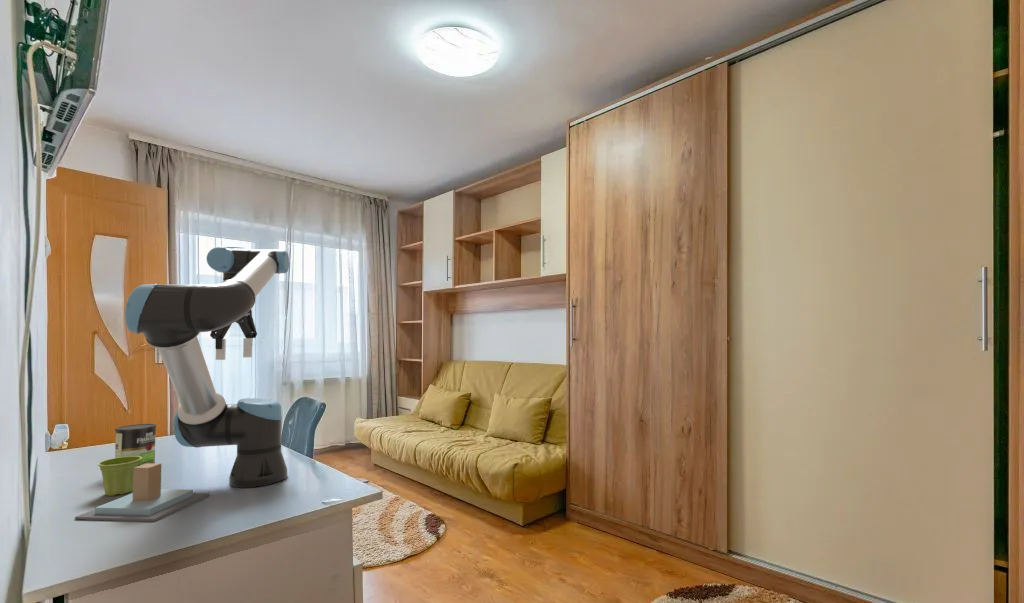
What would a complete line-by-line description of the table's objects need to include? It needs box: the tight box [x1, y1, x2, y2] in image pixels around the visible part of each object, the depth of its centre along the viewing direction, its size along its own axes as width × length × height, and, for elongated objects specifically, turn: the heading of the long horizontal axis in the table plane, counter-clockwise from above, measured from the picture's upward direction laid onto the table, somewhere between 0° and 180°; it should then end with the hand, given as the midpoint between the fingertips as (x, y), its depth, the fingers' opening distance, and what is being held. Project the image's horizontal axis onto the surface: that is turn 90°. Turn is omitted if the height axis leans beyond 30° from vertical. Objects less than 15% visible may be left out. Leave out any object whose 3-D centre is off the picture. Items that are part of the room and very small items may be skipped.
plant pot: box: [97, 456, 142, 497], centre depth 136 cm, size 9×9×9 cm
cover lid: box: [94, 463, 194, 515], centre depth 124 cm, size 14×14×10 cm
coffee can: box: [114, 423, 157, 466], centre depth 156 cm, size 10×10×14 cm
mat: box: [74, 492, 210, 523], centre depth 124 cm, size 20×18×1 cm
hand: (234, 358), depth 163 cm, fingers open, 13 cm apart
